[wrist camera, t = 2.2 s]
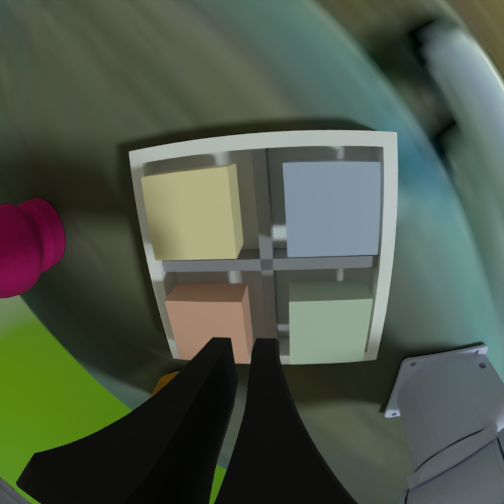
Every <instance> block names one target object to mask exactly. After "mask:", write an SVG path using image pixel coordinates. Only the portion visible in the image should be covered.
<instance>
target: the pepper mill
mask: <svg viewBox="0 0 504 504" xmlns="http://www.w3.org/2000/svg"><path fill="white" fill-rule="evenodd" d="M64 248H65V234H64V229H63V225H62V223H61V220H60V218H59V215H58V214H57V212H56V210H55V209H54V208H53V207H52V205H51V204H50V203H48V202H47V201H46V200H44V199H41V198H33V199H30V200H28V201H25V202H22V203H20V204H19V205H18V206H14V205H12V204H0V298H9V297H13V296H17V295H20V294H22V293H24V292H25V291H27V290H29V289H31V288H32V287H33V286H34V285H35V283H36V282H37V280H38V278H39V276H40V272H44V271H46V270H48V269H49V268H51V267H52V266H54V265H55V264H57V263H58V262H59V261H60V260H61V258H62V256H63V253H64Z"/></svg>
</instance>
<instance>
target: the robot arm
mask: <svg viewBox="0 0 504 504" xmlns="http://www.w3.org/2000/svg"><path fill="white" fill-rule="evenodd" d="M487 350H488V346H487V345H486V344H483V345H479V346H474V347H469V348H465V349H460V350H454V351H449V352H443V353H438V354H432V355H425V356H419V357H411V358H406V359H404V360H403V361H402V363H401V366H400V370H399V373H398V376H397V379H396V382H395V385H394V388H393V391H392V393H391V396H390V399H389V402H388V404H387V407H386V409H385V412H384V416H385V417H395V416H401V420H402V424H403V428H404V432H405V436H406V440H407V444H408V448H409V452H410V457H411V461H412V466H413V471H414V473H413V474H412V475H410V476H408V477H407V482H408V487H407V488H405V489H404V490H403V491H402V493H401V495H400V497H399V500H398V502H397V504H504V383H503V382H502V380H501V378H500V377H499V375H498V373H497V372H496V370H495V369H494V367H493V365H492V364H491V362H490V361H489V359H488V358H487V356H486V355H485V354H486V352H487ZM412 362H413V363H412ZM237 383H238V378H237V372H236V366H235V360H234V354H233V347H232V341H231V338H228V337H212V338H211V339H210V340H209V341H208V342H207V343H206V345H205V346H204V347H203V348H202V349H201V350H200V351H199V352H198V353H197V354H196V355H195V356H194V357H193V358H192V360H191V361H190V362H189V363H188V364H187V365H186V366H185V367H184V368H183V369H182V370H181V371H180V372H179V373H178V374H177V375H176V376H175V377H174V378H172V379H171V380H170V381H169V382H168V383H167V384H166V385H165V386H164V387H162V388H161V389H160V390H159V391H158V392H157V393H155V394H154V395H153V396H152V397H151V398H149V399H148V400H147V401H146V402H144V403H143V404H142V405H140V406H139V407H137V408H136V409H135V410H133V411H132V412H130V413H129V414H127V415H126V416H124V417H122V418H121V419H119V420H117V421H116V422H114V423H112V424H110V425H109V426H107V427H105V428H103V429H101V430H99V431H97V432H95V433H93V434H91V435H89V436H87V437H84V438H82V439H79V440H77V441H74V442H72V443H69V444H66V445H64V446H60V447H57V448H54V449H50V450H46V451H42V452H38V453H35V454H34V455H33V456H32V458H31V459H30V461H29V462H28V464H27V466H26V467H25V469H24V471H23V472H22V474H21V475H20V477H19V479H18V480H17V482H16V484H17V486H18V487H19V488H20V489H22V490H23V491H24V492H26V493H27V494H28V495H30V496H31V497H32V498H34V499H35V500H36V501H38V502H39V503H41V504H209V500H210V494H211V489H212V483H213V478H214V473H215V468H216V464H217V460H218V457H219V453H220V450H221V447H222V444H223V441H224V437H225V434H226V431H227V428H228V424H229V421H230V418H231V414H232V411H233V407H234V403H235V397H236V390H237ZM0 504H32V503H30V502H29V501H28V500H26V499H25V498H24V497H23V496H21V495H20V494H19V493H17V492H16V491H15V489H14V488H13V487H12V486H10V485H9V484H8V483H7V482H6V481H4V480H3V479H2V478H1V477H0ZM214 504H358V503H357V502H356V501H355V500H354V499H353V498H352V496H351V495H350V494H349V493H348V492H347V490H346V489H345V488H344V487H343V485H342V484H341V483H340V481H339V480H338V479H337V478H336V476H335V475H334V473H333V472H332V470H331V469H330V467H329V466H328V465H327V463H326V462H325V460H324V459H323V457H322V456H321V454H320V453H319V451H318V449H317V448H316V446H315V444H314V443H313V441H312V439H311V437H310V436H309V434H308V432H307V430H306V428H305V426H304V424H303V422H302V420H301V418H300V416H299V414H298V411H297V409H296V407H295V404H294V402H293V399H292V397H291V394H290V392H289V389H288V386H287V383H286V380H285V377H284V373H283V370H282V365H281V361H280V351H279V341H278V340H277V339H276V338H256V341H255V343H254V346H253V349H252V353H251V362H250V371H249V381H248V390H247V400H246V406H245V412H244V416H243V419H242V423H241V426H240V430H239V434H238V437H237V440H236V444H235V447H234V450H233V453H232V456H231V460H230V463H229V466H228V468H227V471H226V474H225V477H224V479H223V482H222V485H221V487H220V490H219V493H218V496H217V498H216V500H215V502H214Z"/></svg>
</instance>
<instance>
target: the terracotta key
mask: <svg viewBox="0 0 504 504" xmlns="http://www.w3.org/2000/svg"><path fill="white" fill-rule="evenodd" d="M165 305H166V309H167V313H168V317H169V320H170V324H171V328H172V331H173V335H174V339H175V342H176V346H177V349H178V352H179V356H180V359H182V360H192V358H193V357H194V356H195V355H196V354H197V353H198V352H199V351H200V350H201V349H202V348H203V347H204V346H205V345H206V343H207V342H208V341H209V340H210V339H211V338H212V337H228V338H231V341H232V347H233V354H234V360H235V363H240V364H249V361H250V356H251V351H252V346H253V333H252V323H251V314H250V304H249V294H248V284H247V283H177V285H176V286H175V287H174V289H173V290H172V291H171V293H170V294H169V295H168V297H167V298H166V299H165Z"/></svg>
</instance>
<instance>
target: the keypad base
mask: <svg viewBox="0 0 504 504" xmlns="http://www.w3.org/2000/svg"><path fill="white" fill-rule="evenodd" d="M129 158H130V166H131V174H132V181H133V188H134V194H135V201H136V207H137V213H138V218H139V224H140V229H141V234H142V239H143V244H144V249H145V254H146V258H147V263H148V267H149V272H150V276H151V280H152V284H153V289H154V293H155V297H156V300H157V304H158V308H159V312H160V315H161V319H162V323H163V326H164V330H165V333H166V336H167V340H168V343H169V346H170V350H171V353H172V356H173V358H174V359H180V356H179V352H178V349H177V346H176V342H175V339H174V335H173V331H172V328H171V324H170V320H169V317H168V313H167V309H166V305H165V299H166V298H167V297H168V295H169V294H170V293H171V291H172V290H173V289H174V287H175V286H176V285H177V283H247V284H248V294H249V304H250V314H251V323H252V333H253V346H254V343H255V341H256V338H276V339H277V340H278V341H279V351H280V361H281V364H290V330H289V285H290V282H323V281H350V280H365V282H366V285H367V287H368V289H369V291H370V293H371V296H372V298H373V301H372V309H371V315H370V322H369V328H368V334H367V340H366V346H365V351H364V356H363V361H368V360H376V358H377V354H378V349H379V345H380V340H381V335H382V330H383V325H384V319H385V314H386V308H387V302H388V295H389V288H390V281H391V273H392V265H393V256H394V245H395V233H396V218H397V194H398V151H397V132H383V131H359V130H305V131H281V132H265V133H252V134H241V135H231V136H221V137H213V138H205V139H198V140H191V141H184V142H178V143H172V144H166V145H160V146H155V147H149V148H144V149H139V150H134V151H130V152H129ZM301 159H370V160H374V161H378V162H380V174H381V186H380V223H379V241H378V254H377V255H349V256H316V257H288V256H287V232H286V212H285V194H284V177H283V161H284V160H301ZM234 163H236V168H237V179H238V190H239V200H240V211H241V222H242V232H243V243H244V244H243V246H242V248H241V250H240V252H239V255H238V257H237V259H201V260H155V257H154V252H153V247H152V242H151V237H150V231H149V226H148V220H147V215H146V209H145V202H144V196H143V189H142V183H141V177H144V176H147V175H151V174H154V173H158V172H164V171H171V170H179V169H186V168H195V167H203V166H213V165H223V164H234ZM253 346H252V349H253ZM251 353H252V351H251ZM250 362H251V356H250V361H249V364H250Z"/></svg>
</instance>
